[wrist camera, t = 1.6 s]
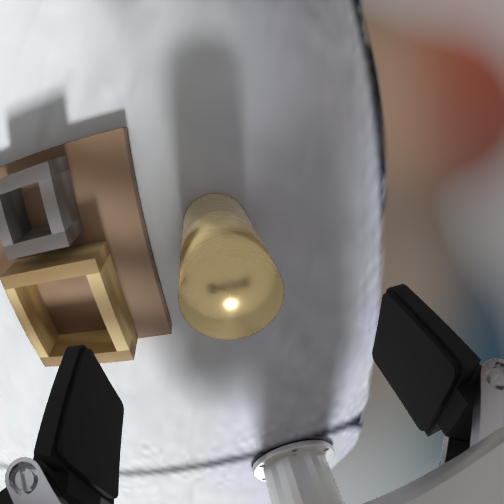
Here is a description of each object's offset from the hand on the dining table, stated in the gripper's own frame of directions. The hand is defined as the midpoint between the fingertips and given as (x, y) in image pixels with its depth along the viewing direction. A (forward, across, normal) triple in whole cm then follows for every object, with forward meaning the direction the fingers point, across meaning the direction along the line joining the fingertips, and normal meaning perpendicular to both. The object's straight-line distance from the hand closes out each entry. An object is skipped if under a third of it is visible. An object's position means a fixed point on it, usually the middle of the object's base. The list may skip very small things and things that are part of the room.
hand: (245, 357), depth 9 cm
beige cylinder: (+14, 0, +1) cm, 14 cm away
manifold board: (+14, +12, +1) cm, 19 cm away
